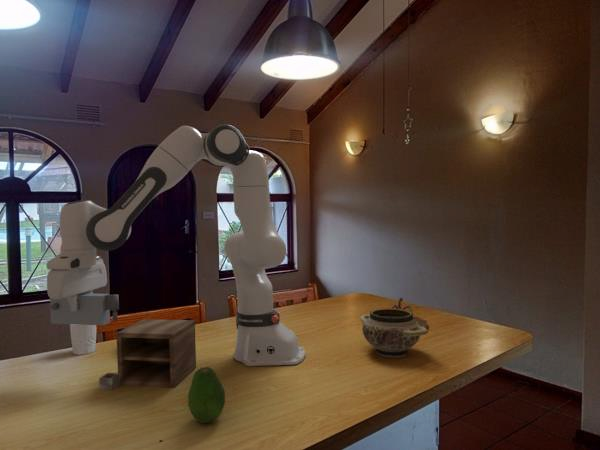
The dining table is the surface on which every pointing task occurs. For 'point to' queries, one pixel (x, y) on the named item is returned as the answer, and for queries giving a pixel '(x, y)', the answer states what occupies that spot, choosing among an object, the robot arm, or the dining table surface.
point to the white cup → (83, 338)
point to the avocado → (206, 396)
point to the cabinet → (153, 354)
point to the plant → (421, 321)
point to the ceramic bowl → (391, 331)
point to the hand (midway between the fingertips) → (80, 308)
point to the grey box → (85, 309)
